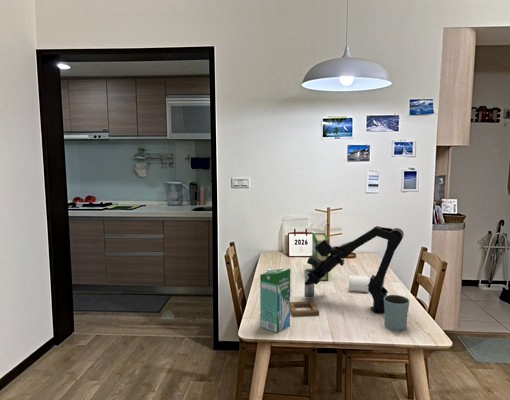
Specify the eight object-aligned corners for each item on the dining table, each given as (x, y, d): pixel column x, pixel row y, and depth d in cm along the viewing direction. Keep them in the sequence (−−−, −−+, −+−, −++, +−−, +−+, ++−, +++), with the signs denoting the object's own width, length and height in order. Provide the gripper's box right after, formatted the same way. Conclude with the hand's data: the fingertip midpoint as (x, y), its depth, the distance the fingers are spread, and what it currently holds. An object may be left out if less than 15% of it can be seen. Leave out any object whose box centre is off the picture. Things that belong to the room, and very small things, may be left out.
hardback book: (328, 281, 225) (328, 239, 222) (314, 281, 226) (315, 239, 223) (324, 271, 243) (324, 233, 240) (311, 271, 243) (312, 233, 240)
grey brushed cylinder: (315, 298, 196) (315, 271, 194) (305, 298, 196) (305, 271, 194) (313, 294, 201) (313, 268, 199) (303, 294, 200) (303, 268, 199)
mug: (369, 294, 205) (369, 279, 204) (349, 293, 207) (349, 278, 206) (368, 286, 216) (368, 272, 215) (349, 285, 219) (349, 271, 218)
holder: (319, 315, 179) (319, 311, 178) (292, 316, 178) (292, 312, 177) (313, 305, 191) (313, 301, 190) (288, 306, 190) (288, 302, 189)
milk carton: (273, 320, 174) (273, 264, 171) (290, 325, 169) (290, 268, 166) (260, 327, 167) (260, 269, 164) (277, 333, 162) (277, 273, 159)
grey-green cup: (402, 321, 172) (403, 294, 171) (412, 331, 162) (413, 303, 161) (379, 321, 172) (380, 294, 171) (387, 332, 162) (388, 303, 161)
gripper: (322, 246, 202) (301, 265, 208) (311, 255, 185) (289, 276, 191) (338, 263, 200) (316, 282, 206) (328, 274, 183) (305, 294, 189)
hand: (306, 283), depth 198 cm, fingers closed on grey brushed cylinder, 5 cm apart
